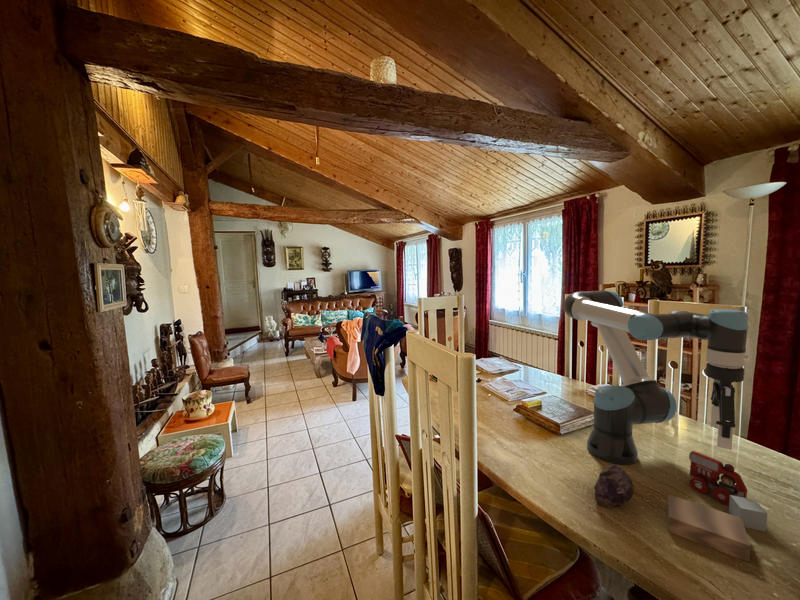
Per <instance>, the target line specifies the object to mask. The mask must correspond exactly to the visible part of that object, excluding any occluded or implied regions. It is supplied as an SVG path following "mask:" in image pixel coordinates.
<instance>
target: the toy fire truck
mask: <svg viewBox="0 0 800 600" xmlns="http://www.w3.org/2000/svg"><path fill="white" fill-rule="evenodd" d="M688 455H689V456H688V459H689V461H690V468H689V478H690V480H689V485H690V487H691V488H692V489H693V490H694V491H696V492H697V493H700V494H706V493H708V492H709V490H710V489H711V490H712V497H713V498H714V499H715V500H716V501H717V502H719V503H720V504H723V505H729V500H730V495H732V496H738V497H743V498H747V497H748V488H747V486H746V485H745V482H744V480H743V478H742V476H741V475H740V473H738V472H737V471H735V466H733V465H732V464H731V463H725V464H724V463H723V462H722V461H720V460H718V459H716V458H714V457H710V456H708V455H705V454H704V453H700V452H697V451H695V450H692V451H690V452H689V454H688ZM720 475H721V476H720Z"/></svg>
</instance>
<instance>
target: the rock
mask: <svg viewBox="0 0 800 600" xmlns="http://www.w3.org/2000/svg"><path fill="white" fill-rule="evenodd" d="M593 490H594V500H595V502H596V503H598V505H600V506H602V507H604V508H611V507H614V506H623V505H624V504H625V503H627V502H629V501H630V500H631V498H632V497H633V495H634V493H635V490H634V483H633V481H632V479H631V478H630V475H628V473H627V472H626V471H625V470H623V468H621V467H620V466H618V464H615V463H613V464H609V465H607V467H606V468H604V469H603V470H601V472H600V473H599V476H598V479H597V480H596V482H595V485H594V488H593Z"/></svg>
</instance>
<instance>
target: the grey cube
mask: <svg viewBox="0 0 800 600" xmlns="http://www.w3.org/2000/svg"><path fill="white" fill-rule="evenodd" d="M728 514H731V515H734V516H737V517H740V518H742V521H743V525H744V528H747V529H751V530H752V529H753V530H756V531H762V532H765V533H766V532H767V523H768V521H767V520H768V512H767V511H766V510H765V509H764V508H763V507H762V506H761V505H760V504H759V502H758V501H757V500H756V499H751V498H743V497H738V496H732V495H730V500H729V504H728Z"/></svg>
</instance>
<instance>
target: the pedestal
mask: <svg viewBox="0 0 800 600" xmlns="http://www.w3.org/2000/svg"><path fill="white" fill-rule="evenodd" d="M666 506H667V507H666V512H667V514H666V515H667V529H668V530H667V532H668V533H671V534H673V535H676V536H680V537H682V538H684V539H687V540H690V541H692V542H695V543H698V544H701V545H703V546H705V547H707V548H711V549H714V550H717V551H718V552H722V553H724V554H727V555H728V556H729V555H730V556H732V557H734V558H737V559H740V560H742V561H744V562H748V563H750V557H751V555H750V554H751V544H750V543H751V542H750V540H749V537H748V535H747V531H746V527H744V525H743V521H742V518H740V517H737V516H734V515H731V514H730V513H728V512H723V511H721V510H718V509H715V508H712V507H708V506H705V505H703V504H702V505H701V504H699V503H697V502H693V501H690V500H687V499H684V498H680V497H677V496H674V495H672V494H667V504H666Z"/></svg>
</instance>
